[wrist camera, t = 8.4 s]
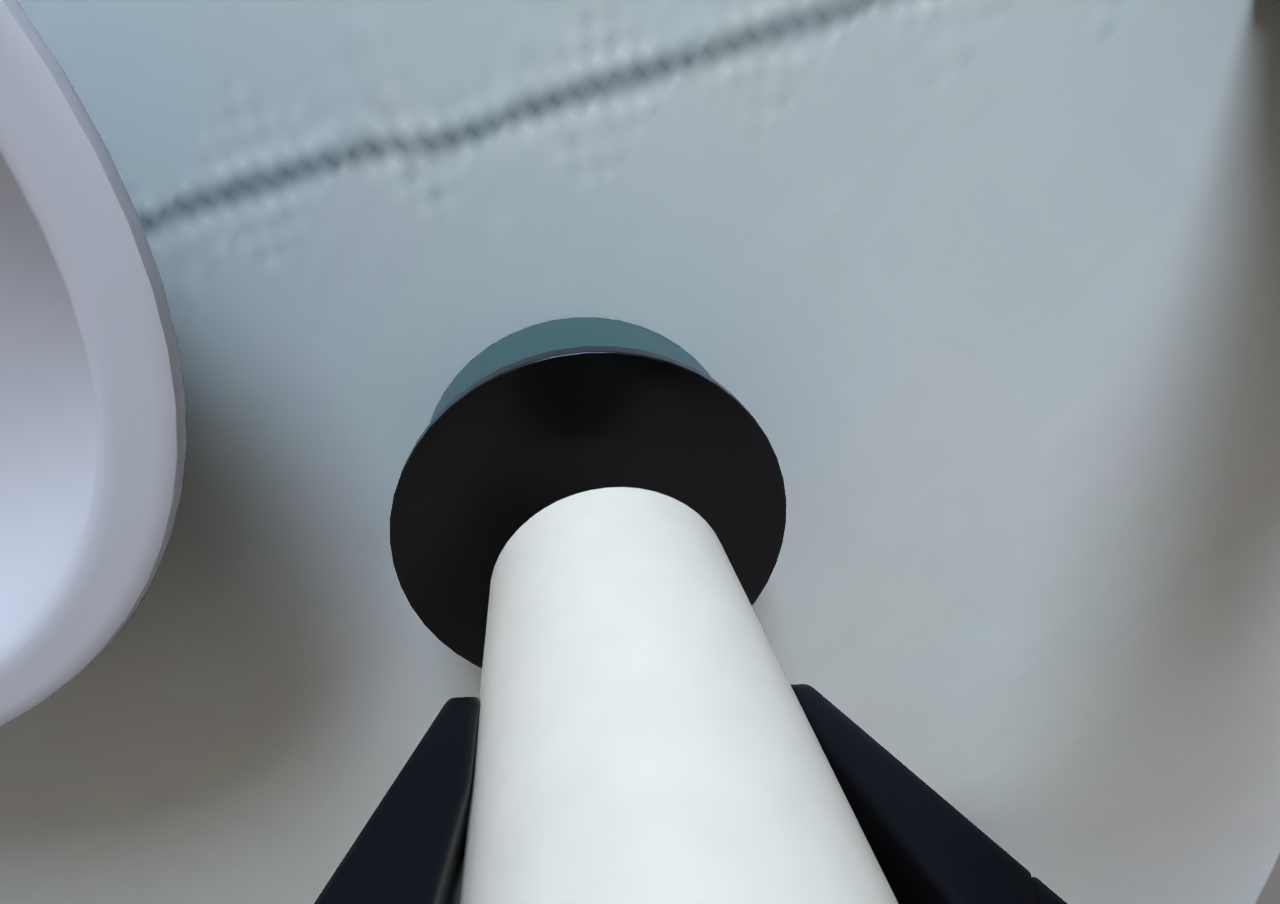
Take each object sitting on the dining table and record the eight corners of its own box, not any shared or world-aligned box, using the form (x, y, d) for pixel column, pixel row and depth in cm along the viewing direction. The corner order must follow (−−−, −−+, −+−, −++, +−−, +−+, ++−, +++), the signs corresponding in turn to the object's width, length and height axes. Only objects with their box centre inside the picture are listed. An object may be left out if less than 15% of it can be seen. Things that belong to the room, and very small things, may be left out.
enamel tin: (767, 323, 21) (825, 364, 16) (715, 597, 25) (749, 682, 21) (409, 297, 18) (373, 337, 14) (425, 601, 23) (401, 697, 19)
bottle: (745, 488, 11) (1485, 1622, 2) (706, 674, 13) (1053, 1700, 4) (492, 481, 10) (279, 2179, 2) (488, 682, 12) (381, 1975, 3)
